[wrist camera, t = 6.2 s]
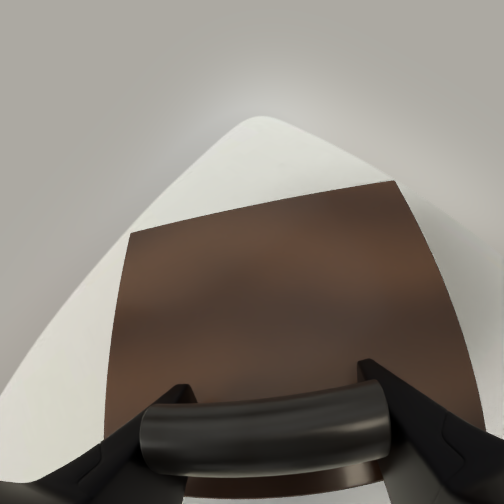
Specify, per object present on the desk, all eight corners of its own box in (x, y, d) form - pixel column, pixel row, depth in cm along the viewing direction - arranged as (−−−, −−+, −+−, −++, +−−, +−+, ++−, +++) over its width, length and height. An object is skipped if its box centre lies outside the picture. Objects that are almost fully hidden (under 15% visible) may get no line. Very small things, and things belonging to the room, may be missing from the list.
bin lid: (479, 442, 6) (562, 424, 3) (114, 483, 8) (21, 477, 5) (393, 190, 14) (401, 106, 10) (136, 240, 16) (89, 176, 12)
